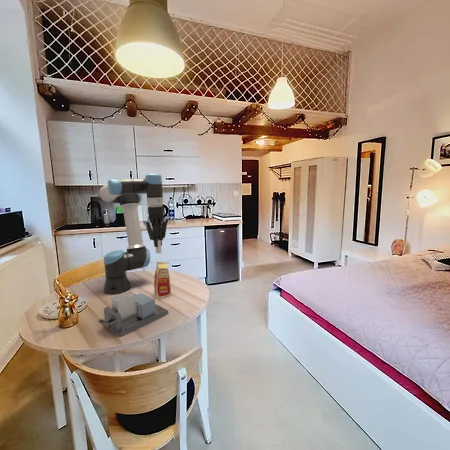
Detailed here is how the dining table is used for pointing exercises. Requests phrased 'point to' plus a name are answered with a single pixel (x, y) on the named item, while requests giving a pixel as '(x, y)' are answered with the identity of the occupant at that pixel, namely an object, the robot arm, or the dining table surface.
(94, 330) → the dining table surface
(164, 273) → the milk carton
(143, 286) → the dining table surface
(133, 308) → the steel block
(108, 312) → the vise body
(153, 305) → the block
